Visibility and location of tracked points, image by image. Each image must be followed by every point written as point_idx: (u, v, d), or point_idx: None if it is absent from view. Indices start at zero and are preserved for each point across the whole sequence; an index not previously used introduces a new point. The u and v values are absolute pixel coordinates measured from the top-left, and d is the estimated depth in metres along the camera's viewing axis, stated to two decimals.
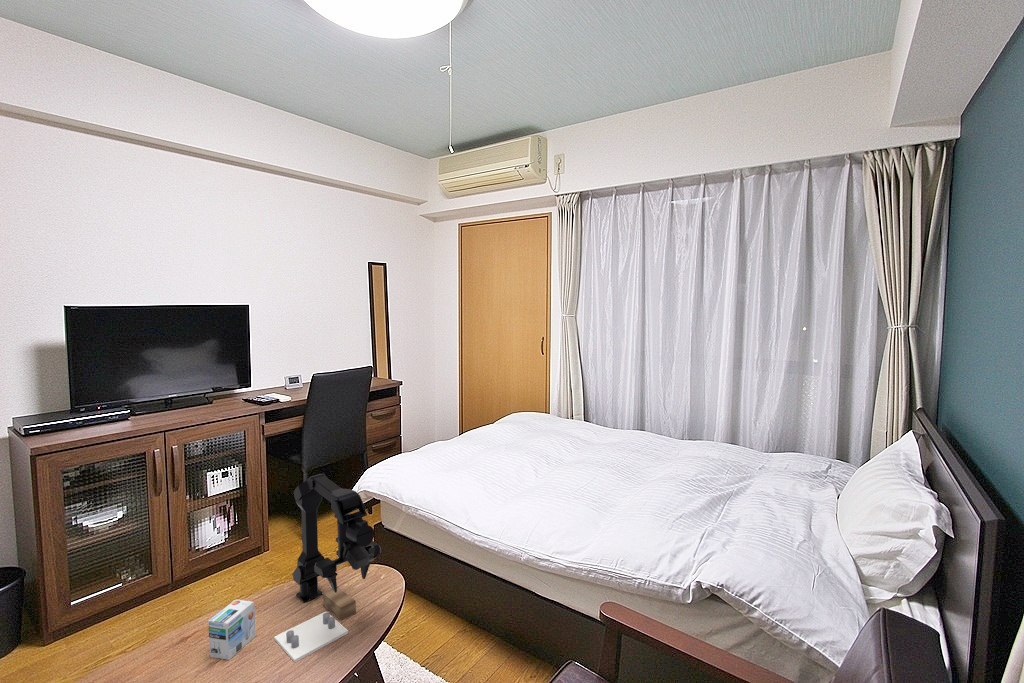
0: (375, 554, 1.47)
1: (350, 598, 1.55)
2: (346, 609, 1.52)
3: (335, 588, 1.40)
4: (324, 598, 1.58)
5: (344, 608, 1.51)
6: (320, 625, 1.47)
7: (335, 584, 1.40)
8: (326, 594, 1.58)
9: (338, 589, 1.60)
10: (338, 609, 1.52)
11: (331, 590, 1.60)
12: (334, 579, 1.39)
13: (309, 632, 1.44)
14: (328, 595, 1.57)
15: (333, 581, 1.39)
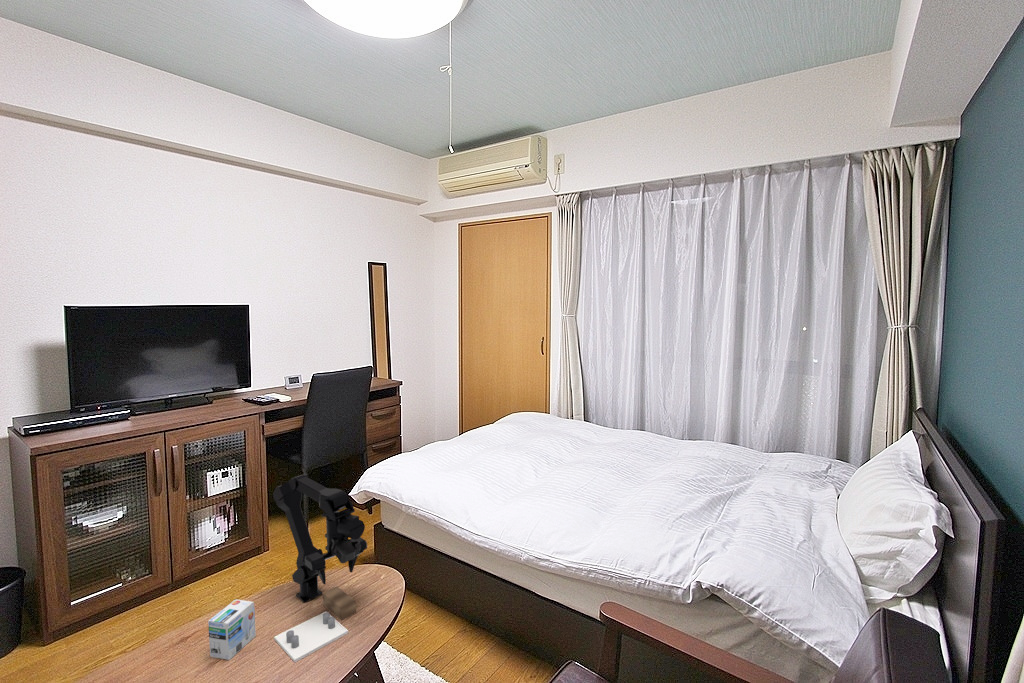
0: (362, 549, 1.58)
1: (350, 598, 1.55)
2: (347, 609, 1.52)
3: (324, 580, 1.52)
4: (324, 598, 1.58)
5: (344, 608, 1.51)
6: (320, 625, 1.47)
7: (324, 576, 1.51)
8: (326, 594, 1.58)
9: (338, 589, 1.60)
10: (338, 609, 1.52)
11: (331, 590, 1.60)
12: (323, 572, 1.51)
13: (309, 632, 1.44)
14: (328, 595, 1.57)
15: (322, 574, 1.51)
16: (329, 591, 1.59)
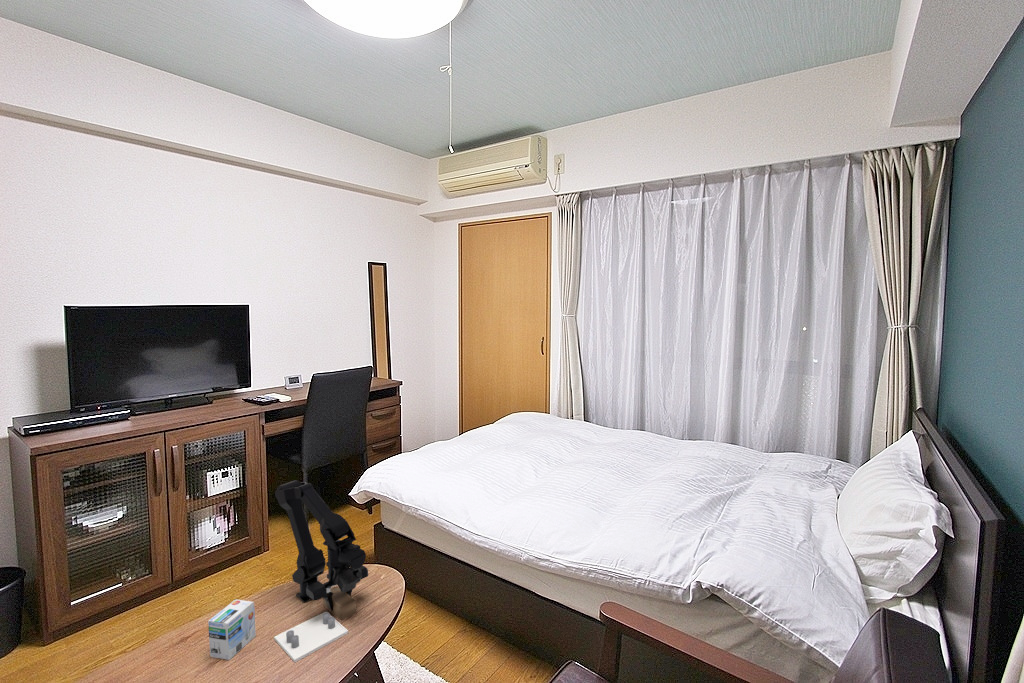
0: (363, 577, 1.59)
1: (350, 598, 1.55)
2: (347, 608, 1.52)
3: (331, 606, 1.54)
4: None
5: (344, 607, 1.51)
6: (320, 625, 1.47)
7: (331, 603, 1.53)
8: None
9: (338, 589, 1.60)
10: (338, 609, 1.52)
11: (331, 590, 1.60)
12: (330, 598, 1.53)
13: (309, 632, 1.44)
14: None
15: (329, 600, 1.53)
16: None
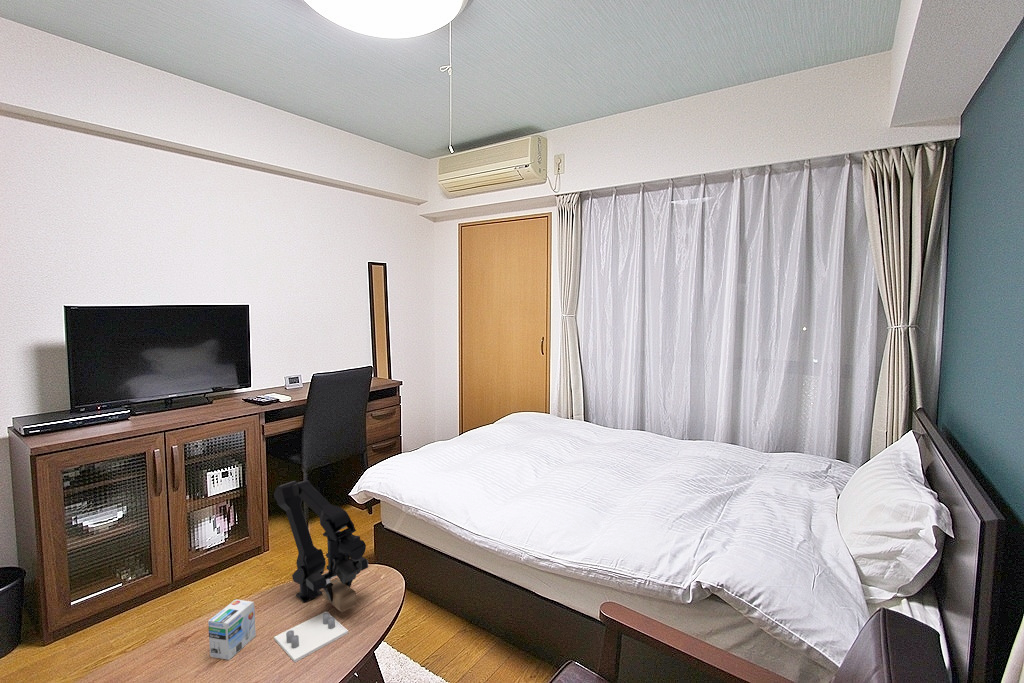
0: (363, 568, 1.59)
1: (350, 589, 1.55)
2: (346, 600, 1.52)
3: (331, 597, 1.53)
4: None
5: (344, 599, 1.51)
6: (320, 625, 1.47)
7: (331, 594, 1.53)
8: None
9: (338, 580, 1.60)
10: (338, 600, 1.51)
11: (331, 581, 1.59)
12: (330, 589, 1.52)
13: (309, 632, 1.44)
14: None
15: (329, 591, 1.52)
16: None
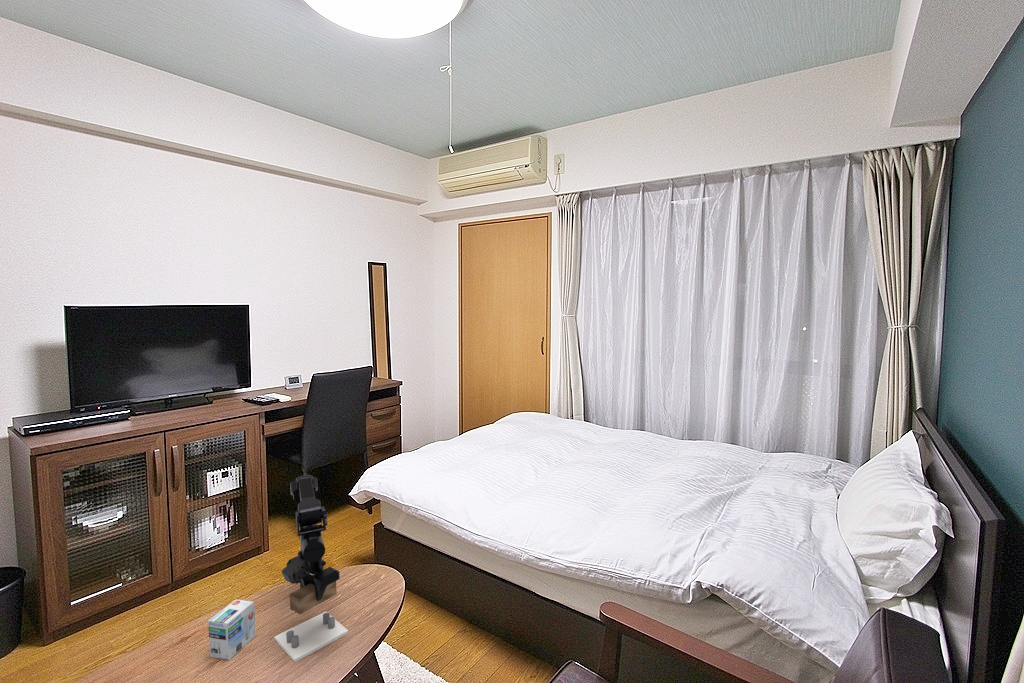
0: (317, 584, 1.37)
1: (305, 595, 1.40)
2: (293, 601, 1.39)
3: None
4: None
5: (291, 597, 1.40)
6: (320, 625, 1.47)
7: None
8: None
9: None
10: None
11: None
12: (302, 580, 1.45)
13: (309, 632, 1.44)
14: None
15: (302, 582, 1.45)
16: None
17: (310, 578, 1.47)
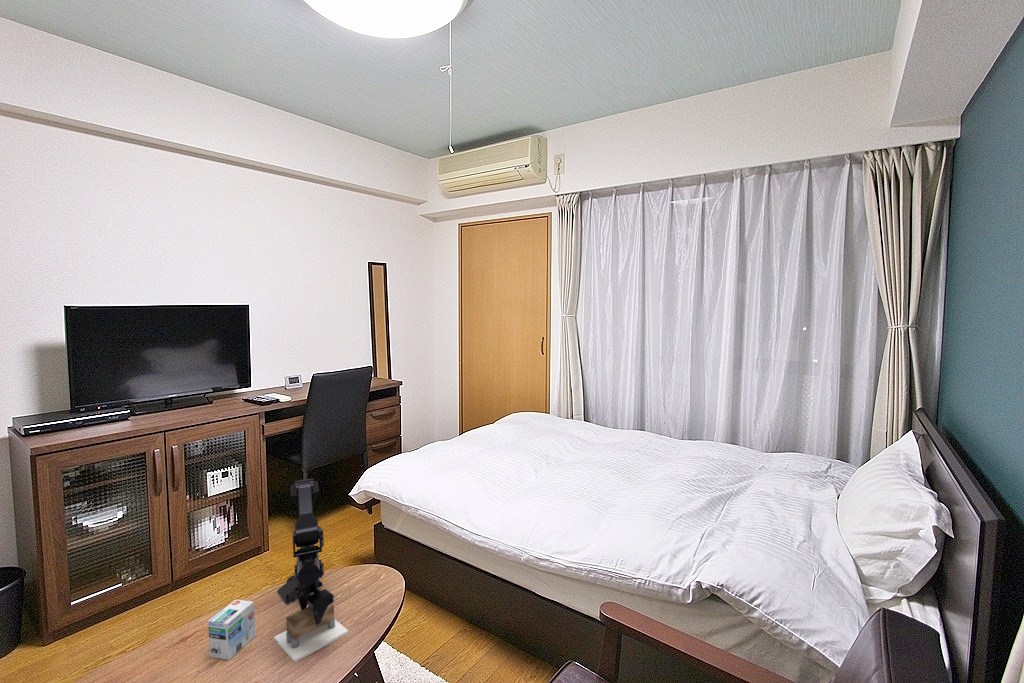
0: (310, 607, 1.36)
1: (300, 620, 1.39)
2: (289, 625, 1.39)
3: (300, 607, 1.46)
4: None
5: (287, 621, 1.40)
6: None
7: (299, 603, 1.46)
8: None
9: None
10: None
11: None
12: None
13: (309, 632, 1.44)
14: None
15: None
16: None
17: (306, 595, 1.47)
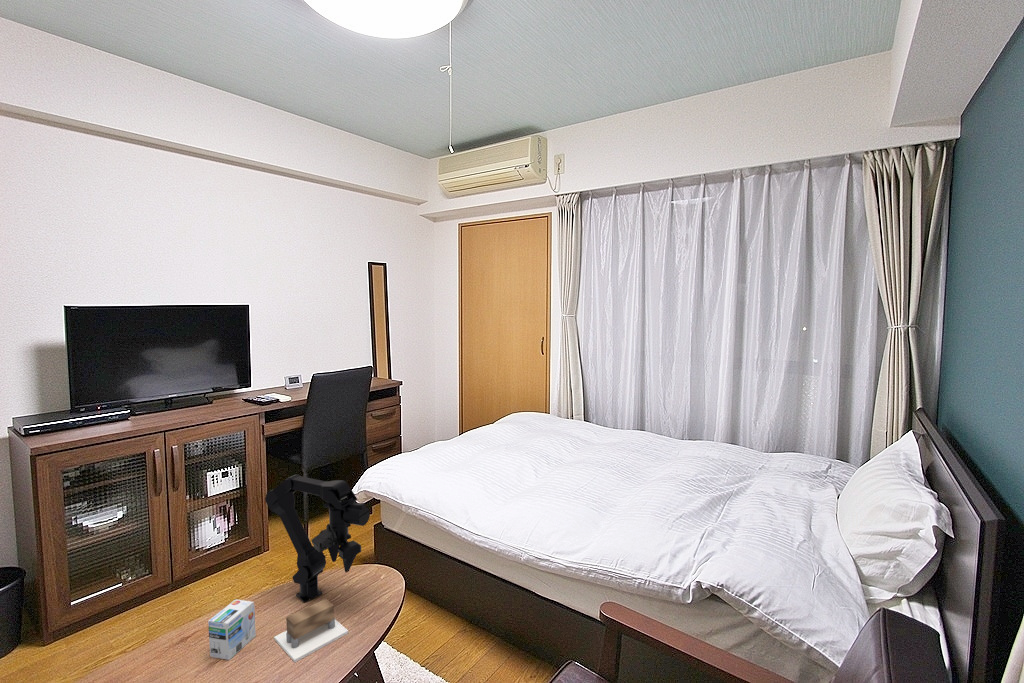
0: (340, 554, 1.51)
1: (300, 620, 1.39)
2: (289, 625, 1.39)
3: (331, 557, 1.62)
4: None
5: (287, 621, 1.40)
6: None
7: (330, 553, 1.62)
8: (320, 601, 1.48)
9: (325, 607, 1.45)
10: None
11: (326, 603, 1.47)
12: (328, 548, 1.62)
13: (309, 632, 1.44)
14: (317, 603, 1.47)
15: (328, 549, 1.62)
16: (325, 602, 1.47)
17: (336, 547, 1.63)
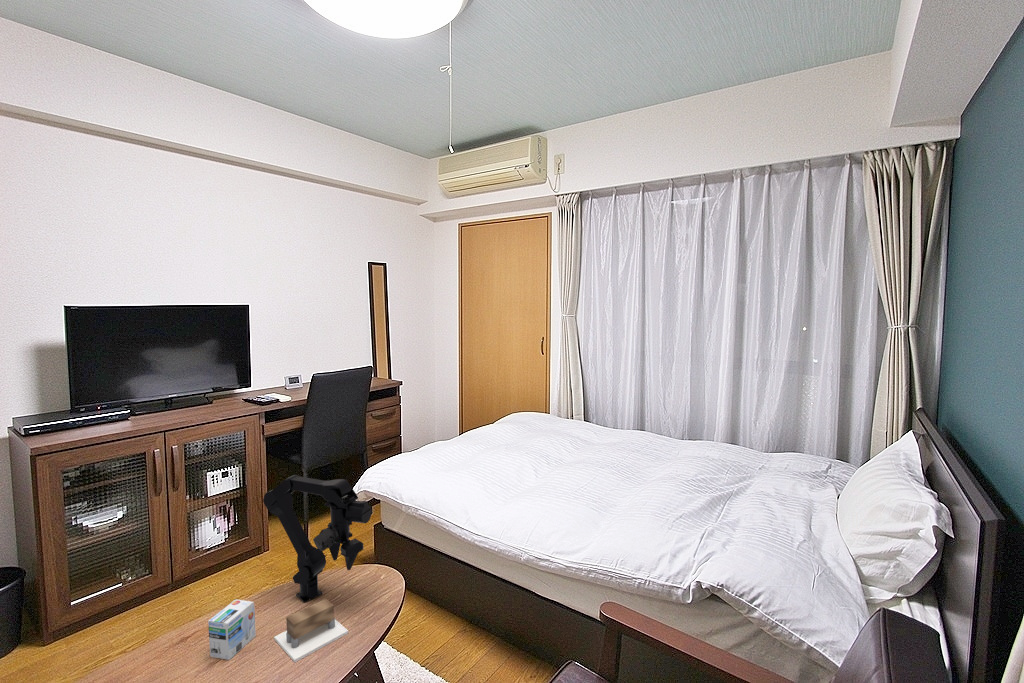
0: (343, 553, 1.52)
1: (300, 620, 1.39)
2: (289, 625, 1.39)
3: (332, 556, 1.63)
4: None
5: (287, 621, 1.40)
6: None
7: (331, 552, 1.62)
8: (320, 601, 1.48)
9: (325, 607, 1.45)
10: None
11: (326, 603, 1.47)
12: (329, 547, 1.62)
13: (309, 632, 1.44)
14: (317, 603, 1.47)
15: (329, 548, 1.62)
16: (325, 602, 1.47)
17: (337, 546, 1.64)
